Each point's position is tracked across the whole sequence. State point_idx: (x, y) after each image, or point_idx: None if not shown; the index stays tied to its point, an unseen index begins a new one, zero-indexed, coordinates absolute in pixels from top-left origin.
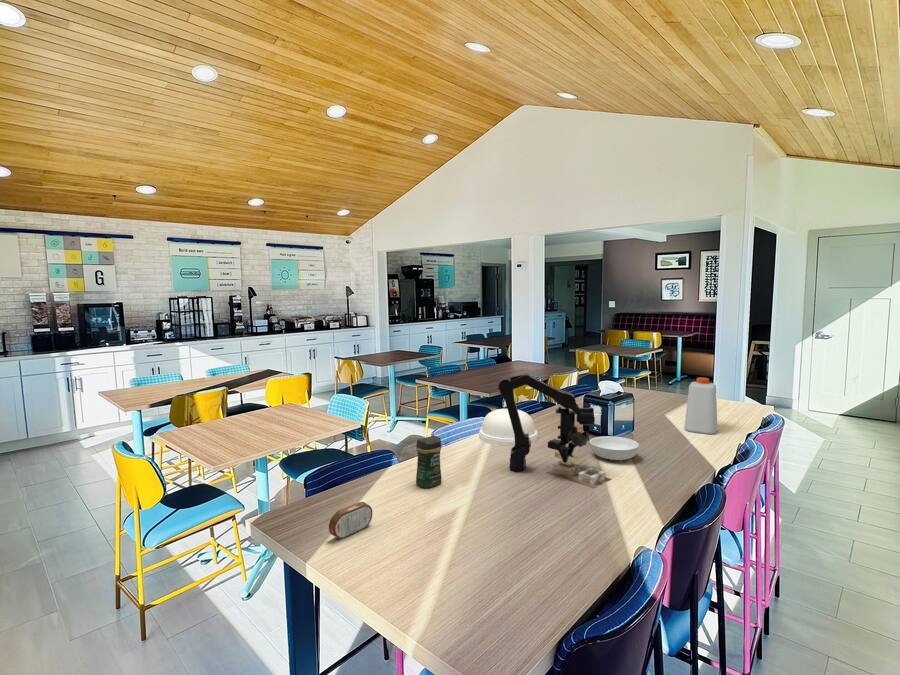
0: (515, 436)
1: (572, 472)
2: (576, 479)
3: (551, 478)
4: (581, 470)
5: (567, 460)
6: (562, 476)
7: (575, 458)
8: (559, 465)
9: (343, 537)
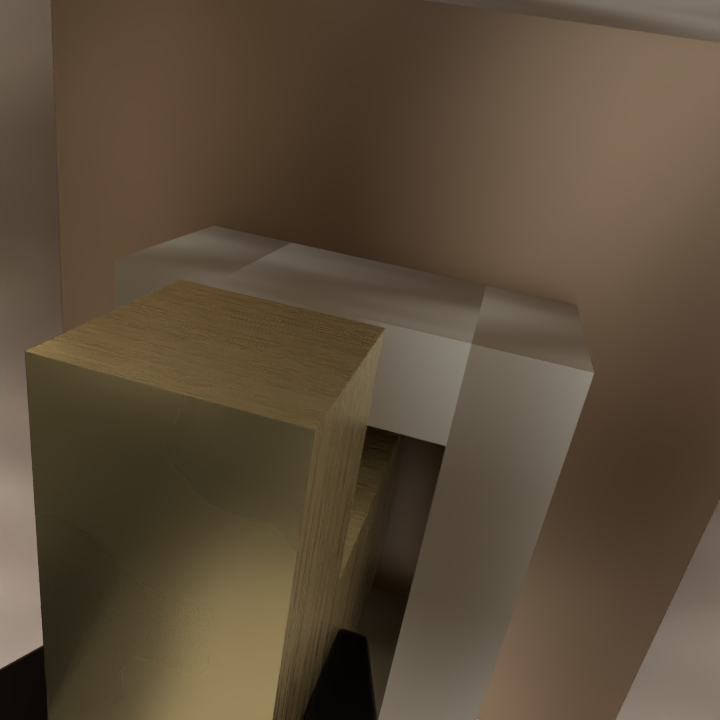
0: None
1: (515, 318)
2: (682, 123)
3: (716, 613)
4: (87, 251)
5: (323, 655)
6: (645, 469)
7: (323, 459)
8: (450, 692)
9: None
